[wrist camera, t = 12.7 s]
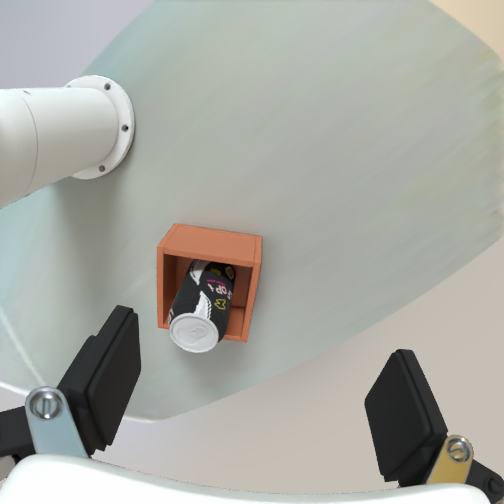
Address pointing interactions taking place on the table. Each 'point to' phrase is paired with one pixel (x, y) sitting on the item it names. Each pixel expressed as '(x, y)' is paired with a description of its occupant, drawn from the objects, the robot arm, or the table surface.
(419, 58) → the table surface
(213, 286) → the beverage can
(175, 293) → the bin
